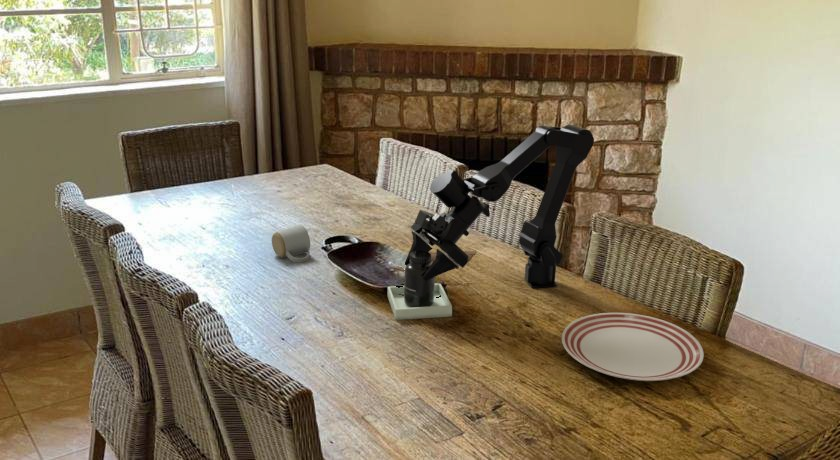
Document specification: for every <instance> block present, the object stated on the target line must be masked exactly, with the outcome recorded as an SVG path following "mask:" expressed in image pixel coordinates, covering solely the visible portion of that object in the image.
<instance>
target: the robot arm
mask: <svg viewBox="0 0 840 460" xmlns="http://www.w3.org/2000/svg"><path fill="white" fill-rule="evenodd" d="M594 143H595V138H594V136H593V133H592V131H590V130H588V129H586V128H583V127H580V126H576V125H574V124H567V125H565V126H562V127H559V126H548V125H540V126H537V127H536V128H535V130H534V132H532V133H531V134H530V135H529V136H528V137H526V139H525V140H523V141H522V142H521V143H520V144H519V145H518V146H517V147H515V148H514V149H513V150H512V151H510V153H508V154H507V155H506V156H505V157H504V158H502V159H501V160H500V161H499V162H497V163H494V164H490V165H489V166H485V167H484V168H482V169H481V170H479V171H477V172H476V173H475V174H473V176H470V177H467V178H461V177H460V175H459V173H458V172H457V171H456V170H454V169H453V168H449V169H448V170H447V171H446V172H443V173H441V174H439V175H438V176H436V177H434V178H433V180H432V182H431V183H430V186H429V189H430V190H429V191H430V192H431V193H432V194H433V195H434V196H435V197H436V198H437V199H438V200H439V201H440V202H442V204H443V205H444V206H445V207H447V208H451V209H450V210H449V212H448V213H447V212H442V213H440V214H438V213H435V214H433V213H431V212H429V211H425V210H422V209H419V211H418V213H417V215H416V217H415V219H414V220H415V221H414V223H413V224H412V225H411V226H410V229H411V231H410V232H411V234H412V243H411V247H410V249H409V252H408V254H407V256H406V259H405V261H404V262H405V265H406V266H407V265H408V264H409V263H410V262H409V260H410V253H411V252H413V251H426V252H429V253H430V252H431V250H432V249H433V246H437V247H438V248H440V249H438V248H436V252H435V253H436V259H435V260H434V261H433V263H432V264H431V266H430V267H429V268H428V270H427V271H426V272H425V274H424V276H423V277H422V279H424V280H425V281H427V280H429V279H431V278H434V277H435V278H436V277H437V276H438V277H439V276H440V275H442V274H444V273H447V272H450V271H452V270H454V269H457V270H459V266H460V267H461V268H462V269H464V268H465V267H466V265H468V264H469V261H470V260H469V256H468V255H467V254H466V253H465V252H464V251H465V250H463V249H462V248H460V247H459V246H458V245H457V244H456V243H457V242H458V241H459V240H460V239H461V238H462V237H463V236H465V237H468V235H470V232H469V231H468V230H469V228H470V227H471V226H472V225H473V224H474V223H475V221H477V219H478V218H479V217H480V215H484V216H485V217H487V218H489V217H490V216H491V212H490V208H491V207H490V204H489V203H486V202H482V201H481V200H480V198H481V199H483V200H485V201H487V202H491V203H495V202H497V201H499V200H500V199H501V198H502V197H504V195H505V193H507V192H508V190H509V189H510V186H511V184H512V182H513V180H514V178H515V177H516V176H517V175H519V174H520V173H522V171H523V170H524V169H526V168H527V167H528V166H529V165H530V164H532V162H534V161H535V160H536V159H537V158H539V157H540V156H541V155H542V154H543V153H544V152H546V151H547V149H548V148H550V147H552V146H554V148H555V150H554V151H555V158H556V161H555V164H554V166H553V169H552V171H551V174H550V177H549V179H548V182H547V184H546V188H545V189H544V193H543V196H542V197H541V201H540V204H539V206H538V209H537V212H536V215H535V216H534V217H533V218H532V219H530V220H529V221H527V220H525V221H524V222H523V223H522V227H521V230H520V231H519V233H518V237H519V239H518V244H519V245H520V248H521V249H522V250H523V253H524V256H527V263H526V264H525V268H524V277H523V278H524V280H525V281H526V282H527V284H528V285H529V286H530V287H531V288H533V289H539V288H554V287H555V288H556V287H558V282H556V270H557V265H560V264H561V262H562V260H563V256H564V255H563V254H562V253H561V252H560V250H558V249H557V248H556V247H555V245H556V240H557V230H556V224H557V223H556V222H557V220H558V217H559V214H560V212H561V208H562V206H563V203H564V201H565V198H566V196H567V192H568V191H569V188H570V185H571V183H572V179H573V177H574V174H575V172H576V169H577V167H578V166H580V164H582V162H584V161H585V160H586V159H587V158H588V156H589V154H590V152H591V150H592V148H593V146H594ZM469 194H471V195H472V196H470V195H469ZM473 195H474V196H473ZM442 252H443V253H442Z"/></svg>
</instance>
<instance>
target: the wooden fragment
mask: <svg viewBox="0 0 840 460" xmlns="http://www.w3.org/2000/svg"><path fill="white" fill-rule="evenodd" d="M463 251H464V252H465V253H466V254H467V255H468V256H469V261H470V260H471V259H472V257H473V256H474V255H476V254H477V250H463ZM441 252H442V253H443V252H444V251H441ZM429 253H430V254H431V264H432V263H433V261H434V260H435V259H436V252H429ZM393 270H396V271H399V272H403V273H405V272H404V271H405V270H404V269H403V268H402V267H399V266H397V265H395V266H393Z"/></svg>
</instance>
